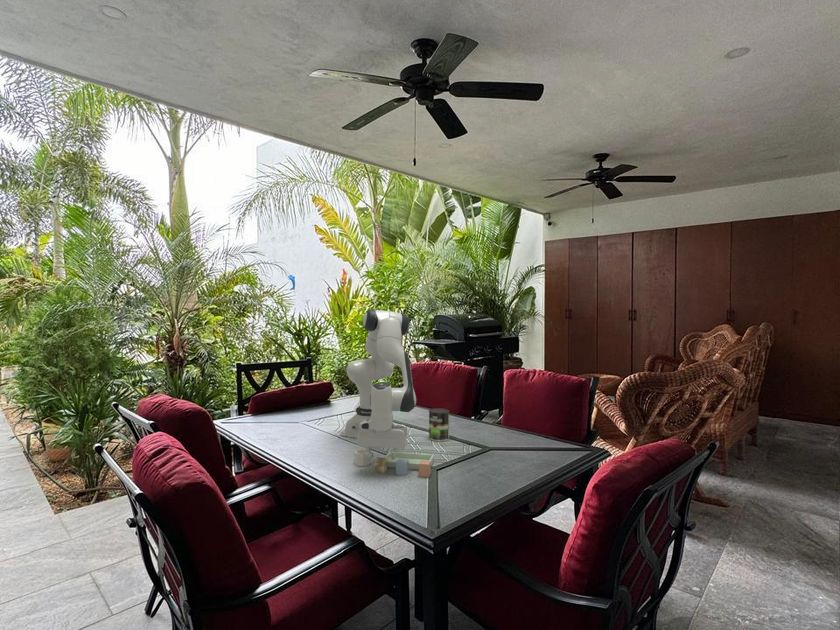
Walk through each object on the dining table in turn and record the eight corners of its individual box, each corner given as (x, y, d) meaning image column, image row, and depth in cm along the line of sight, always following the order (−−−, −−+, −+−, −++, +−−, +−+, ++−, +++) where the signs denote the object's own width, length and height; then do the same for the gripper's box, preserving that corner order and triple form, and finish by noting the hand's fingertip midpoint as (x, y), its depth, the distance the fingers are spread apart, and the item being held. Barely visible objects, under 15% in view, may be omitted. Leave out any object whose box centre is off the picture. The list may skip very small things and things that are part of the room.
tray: (381, 467, 180) (381, 461, 180) (389, 457, 191) (389, 451, 191) (429, 471, 176) (429, 464, 175) (434, 460, 187) (434, 454, 187)
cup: (352, 465, 182) (352, 453, 182) (358, 459, 188) (358, 448, 188) (367, 466, 180) (367, 454, 180) (372, 461, 187) (372, 449, 187)
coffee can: (444, 442, 212) (444, 413, 212) (425, 439, 217) (425, 411, 217) (452, 437, 221) (452, 409, 221) (434, 434, 226) (434, 407, 226)
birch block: (374, 472, 174) (374, 460, 174) (377, 469, 178) (377, 457, 178) (384, 473, 173) (384, 461, 173) (386, 470, 177) (386, 457, 177)
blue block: (396, 474, 172) (396, 462, 172) (398, 470, 176) (398, 458, 176) (406, 475, 171) (406, 462, 171) (408, 471, 175) (408, 459, 175)
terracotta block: (418, 476, 170) (418, 463, 170) (420, 472, 174) (420, 460, 174) (428, 477, 169) (428, 464, 169) (430, 473, 173) (430, 461, 173)
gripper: (408, 422, 176) (409, 457, 176) (360, 420, 180) (360, 454, 180) (405, 426, 170) (405, 462, 170) (355, 424, 174) (355, 459, 174)
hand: (382, 458), depth 175 cm, fingers open, 8 cm apart
